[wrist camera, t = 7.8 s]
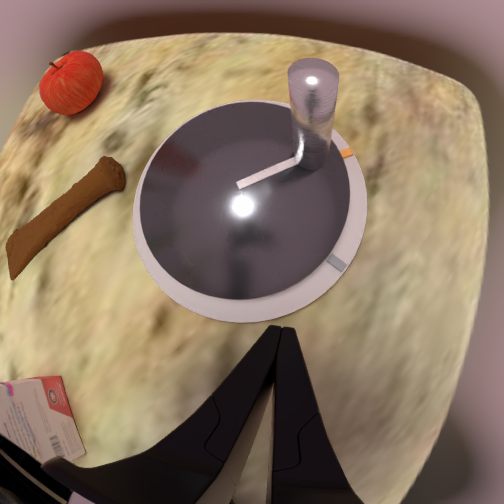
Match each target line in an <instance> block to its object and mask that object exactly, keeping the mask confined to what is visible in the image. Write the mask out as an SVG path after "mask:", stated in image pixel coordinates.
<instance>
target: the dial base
mask: <svg viewBox="0 0 504 504" xmlns="http://www.w3.org/2000/svg"><path fill="white" fill-rule="evenodd" d="M239 102H265V103H271V104H277V105H280V106H284V107H287V108H290V109H291V107H290V104H287V103H282V102H277V101H270V100H243V101H236V102H231V103H227V104H233V103H239ZM227 104H223V105H219V106H216V107H214V108H217V107H220V106H224V105H227ZM214 108H211V109H214ZM211 109H208V110H206V111H209V110H211ZM206 111H204V112H206ZM204 112H202V113H204ZM202 113H200V114H202ZM200 114H198V115H200ZM198 115H196V116H198ZM196 116H194V117H196ZM194 117H192V118H191V119H193V118H194ZM191 119H189V120H188V121H190V120H191ZM188 121H186V122H185V123H187V122H188ZM185 123H183V124H182V125H184V124H185ZM182 125H180V126H179V127H178V128H177V129H175V130H174V131H173V132H172V133H171V134H170V135H169V136H168V137H167V138H166V139H165V140H164V141H163V142H162V143H161V144H160V146H159V147H158V148H157V149H156V151H155V152H154V153H153V155H152V157H151V158H150V160H149V161H148V163H147V165H146V167H145V169H144V171H143V173H142V175H141V178H140V181H139V184H138V187H137V190H136V195H135V199H134V207H133V230H134V236H135V242H136V245H137V248H138V252H139V255H140V257H141V259H142V261H143V264H144V266H145V268H146V270H147V271H148V273H149V274H150V276H151V277H152V278H153V280H154V281H155V283H156V284H157V285H158V286H159V287H160V288H161V289H162V290H163V291H164V292H165V293H166V294H167V295H168V296H169V297H171V298H172V299H173V300H174V301H176V302H177V303H179V304H180V305H182V306H183V307H185V308H187V309H188V310H190V311H193V312H195V313H197V314H200V315H202V316H205V317H208V318H212V319H216V320H220V321H227V322H236V323H243V322H259V321H265V320H271V319H275V318H278V317H281V316H284V315H287V314H290V313H292V312H294V311H296V310H298V309H301V308H303V307H305V306H307V305H308V304H310V303H311V302H313V301H314V300H315V299H317V298H318V297H320V296H321V295H322V294H324V293H325V292H326V291H327V290H328V289H329V288H330V287H331V286H332V285H334V284H335V282H336V281H337V280H338V279H339V278H340V276H341V275H342V274H343V273H344V272H345V270H346V269H347V267H348V266H349V264H350V262H351V261H352V259H353V258H354V256H355V254H356V251H357V249H358V247H359V244H360V242H361V239H362V236H363V232H364V228H365V224H366V215H367V193H366V187H365V182H364V177H363V174H362V171H361V169H360V166H359V163H358V161H357V159H356V157H355V155H354V154H353V152H352V150H351V149H350V147H349V146H348V144H347V143H346V142H345V140H344V139H343V138H342V137H341V136H340V135H339V134H338V133H337V132H336V131H335V130H334V129H332V136H331V139H332V140H333V142H334V143H335V144H336V146H337V148H338V150H339V151H340V153H341V155H342V157H343V160H344V163H345V165H346V168H347V172H348V177H349V183H350V203H349V211H348V215H347V219H346V223H345V225H344V228H343V230H342V233H341V235H340V237H339V239H338V241H337V243H336V244H335V246H334V248H333V250H332V251H331V253H330V254H329V256H328V257H327V258H326V259H325V261H324V262H323V263H322V264H321V265H320V266H319V267H318V268H317V269H316V270H315V271H314V272H313V273H312V274H311V275H310V276H308V277H307V278H305V279H304V280H303V281H301V282H300V283H298V284H297V285H295V286H293V287H291V288H289V289H287V290H285V291H283V292H280V293H277V294H275V295H272V296H268V297H263V298H259V299H251V300H229V299H222V298H217V297H212V296H207V295H204V294H202V293H199V292H196V291H194V290H192V289H190V288H188V287H186V286H184V285H182V284H181V283H179V282H178V281H177V280H175V279H174V278H173V277H171V276H170V275H169V274H168V273H167V272H166V271H165V270H164V269H163V268H162V267H161V266H160V264H159V263H158V262H157V260H156V259H155V258H154V256H153V255H152V253H151V251H150V249H149V247H148V245H147V243H146V240H145V237H144V234H143V231H142V226H141V221H140V195H141V190H142V185H143V181H144V178H145V175H146V172H147V170H148V168H149V166H150V164H151V161H152V160H153V158H154V156H155V155H156V153H157V152H158V150H159V149H160V148H161V146H162V145H163V144H164V142H165V141H166V140H167V139H168V138H169V137H170V136H171V135H172V134H173V133H174V132H175V131H176V130H178V129H179V128H180V127H181V126H182Z"/></svg>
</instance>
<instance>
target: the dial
mask: <svg viewBox="0 0 504 504" xmlns="http://www.w3.org/2000/svg"><path fill="white" fill-rule="evenodd" d="M288 83H289V95H290V107H291V109H290V108H287V107H284V106H280V105H277V104H271V103H265V102H239V103H233V104H227V105H224V106H220V107H217V108H214V109H211V110H209V111H206V112H204V113H202V114H200V115H198V116H196V117H194V118H193V119H191V120H190V121H188V122H187V123H185V124H184V125H182V126H181V127H180V128H179V129H178V130H176V131H175V132H174V133H173V134H172V135H171V136H170V137H169V138H168V139H167V140H166V141H165V142H164V144H163V145H162V146H161V148H160V149H159V150H158V152H157V153H156V155H155V156H154V158H153V160H152V161H151V164H150V166H149V168H148V170H147V172H146V175H145V178H144V181H143V185H142V190H141V195H140V221H141V226H142V231H143V234H144V237H145V240H146V243H147V245H148V247H149V249H150V251H151V253H152V255H153V256H154V258H155V259H156V260H157V262H158V263H159V264H160V266H161V267H162V268H163V269H164V270H165V271H166V272H167V273H168V274H169V275H170V276H171V277H173V278H174V279H175V280H177V281H178V282H179V283H181V284H182V285H184V286H186V287H188V288H190V289H192V290H194V291H196V292H199V293H202V294H204V295H207V296H212V297H217V298H222V299H229V300H251V299H259V298H263V297H268V296H272V295H275V294H277V293H280V292H283V291H285V290H287V289H289V288H291V287H293V286H295V285H297V284H298V283H300V282H301V281H303V280H304V279H305V278H307V277H308V276H310V275H311V274H312V273H313V272H314V271H315V270H316V269H317V268H318V267H319V266H320V265H321V264H322V263H323V262H324V261H325V259H326V258H327V257H328V256H329V254H330V253H331V251H332V250H333V248H334V246H335V244H336V243H337V241H338V239H339V237H340V235H341V233H342V230H343V228H344V225H345V223H346V219H347V215H348V211H349V203H350V183H349V177H348V172H347V168H346V165H345V163H344V160H343V157H342V155H341V153H340V151H339V150H338V148H337V146H336V144H335V143H334V142H333V140H332V139H331V136H332V129H333V122H334V115H335V107H336V100H337V91H338V83H339V73H338V71H337V69H336V68H335V67H334V66H333V65H332V64H331V63H329V62H327V61H325V60H321V59H317V58H305V59H301V60H298V61H296V62H294V63H293V64H292V65H291V66H290V67H289V69H288Z"/></svg>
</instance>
